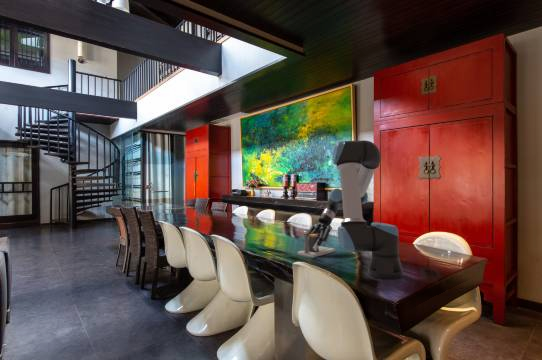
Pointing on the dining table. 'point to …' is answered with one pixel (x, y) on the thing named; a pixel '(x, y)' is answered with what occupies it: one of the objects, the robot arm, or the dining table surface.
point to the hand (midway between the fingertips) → (309, 248)
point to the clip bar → (301, 230)
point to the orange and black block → (313, 242)
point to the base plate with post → (313, 254)
